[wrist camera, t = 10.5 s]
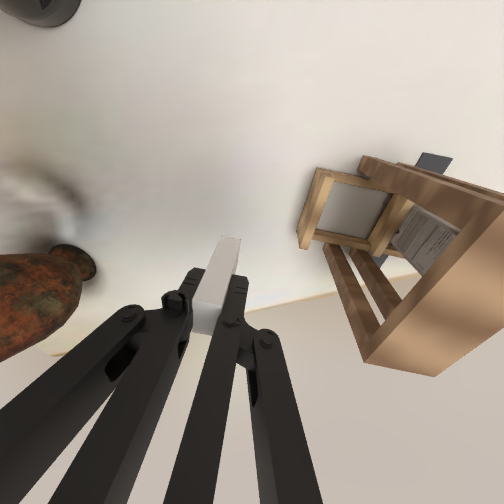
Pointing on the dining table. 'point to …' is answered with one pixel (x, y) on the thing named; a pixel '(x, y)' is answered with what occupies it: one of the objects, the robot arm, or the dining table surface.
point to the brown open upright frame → (429, 277)
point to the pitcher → (39, 294)
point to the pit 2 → (433, 163)
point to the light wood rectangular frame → (374, 244)
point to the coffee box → (423, 238)
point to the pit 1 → (379, 259)
